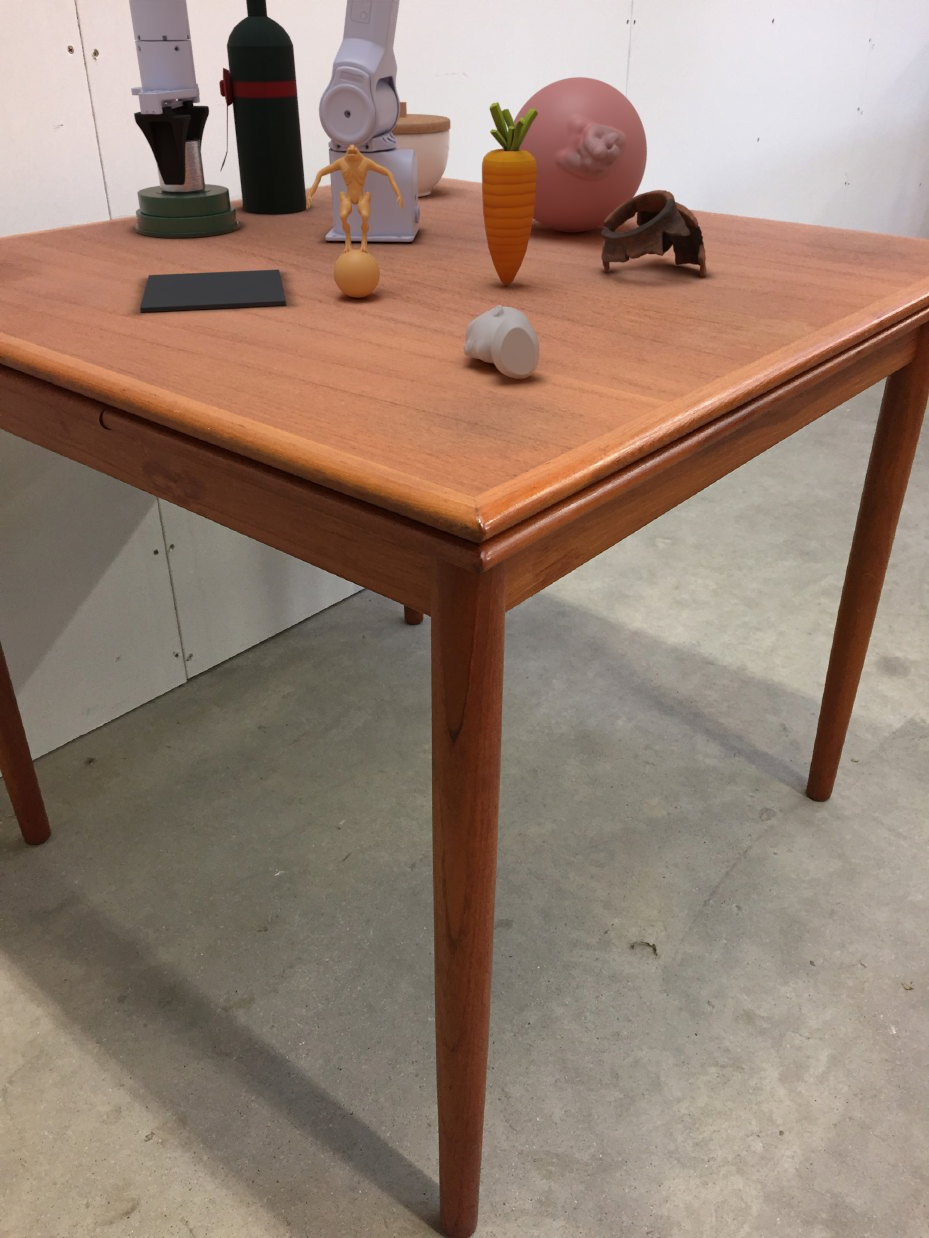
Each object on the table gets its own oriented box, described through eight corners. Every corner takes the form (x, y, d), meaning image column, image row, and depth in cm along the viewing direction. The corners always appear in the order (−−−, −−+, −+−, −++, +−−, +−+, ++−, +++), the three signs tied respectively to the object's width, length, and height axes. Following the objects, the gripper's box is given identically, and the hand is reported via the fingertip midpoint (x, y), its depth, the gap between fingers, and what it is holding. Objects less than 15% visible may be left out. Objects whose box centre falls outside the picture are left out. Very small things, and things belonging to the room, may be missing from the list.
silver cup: (210, 186, 115) (204, 137, 112) (198, 192, 110) (192, 142, 108) (168, 185, 115) (161, 136, 112) (154, 192, 111) (147, 142, 108)
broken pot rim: (719, 289, 93) (689, 211, 88) (623, 329, 96) (589, 256, 91) (706, 230, 101) (679, 155, 96) (618, 269, 105) (587, 198, 99)
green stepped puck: (250, 219, 120) (246, 182, 117) (225, 239, 110) (220, 199, 108) (154, 218, 120) (149, 181, 118) (120, 237, 110) (114, 198, 108)
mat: (279, 273, 96) (278, 269, 96) (286, 305, 86) (285, 300, 86) (149, 279, 94) (148, 275, 93) (140, 312, 84) (139, 307, 83)
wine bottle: (224, 205, 128) (191, -81, 112) (304, 202, 130) (283, -80, 114) (224, 216, 122) (188, -86, 106) (308, 213, 123) (286, -85, 108)
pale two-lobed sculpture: (468, 366, 75) (533, 344, 75) (479, 400, 68) (551, 375, 68) (450, 311, 73) (517, 287, 73) (460, 339, 66) (534, 314, 66)
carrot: (539, 282, 93) (547, 100, 85) (525, 294, 89) (531, 105, 81) (489, 277, 95) (491, 99, 87) (472, 290, 91) (472, 103, 83)
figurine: (307, 302, 87) (295, 150, 80) (316, 286, 92) (305, 141, 85) (404, 303, 87) (399, 150, 80) (407, 286, 92) (403, 141, 85)
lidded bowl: (346, 200, 132) (341, 105, 126) (370, 185, 142) (366, 97, 136) (441, 202, 130) (440, 107, 124) (458, 187, 140) (457, 99, 135)
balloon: (513, 254, 103) (517, 85, 95) (498, 219, 120) (501, 73, 112) (661, 253, 104) (678, 85, 96) (626, 218, 121) (638, 73, 113)
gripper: (148, 38, 112) (167, 171, 119) (100, 43, 99) (124, 190, 106) (210, 38, 111) (225, 171, 118) (170, 43, 99) (190, 191, 106)
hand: (182, 180), depth 112 cm, fingers closed on silver cup, 5 cm apart
